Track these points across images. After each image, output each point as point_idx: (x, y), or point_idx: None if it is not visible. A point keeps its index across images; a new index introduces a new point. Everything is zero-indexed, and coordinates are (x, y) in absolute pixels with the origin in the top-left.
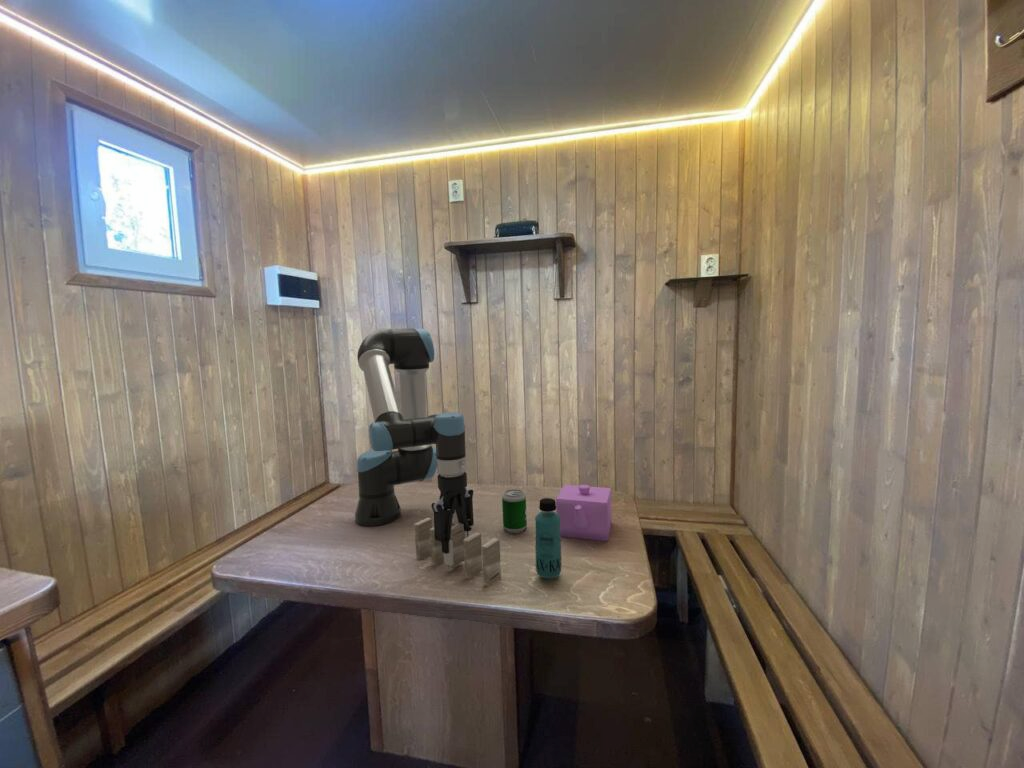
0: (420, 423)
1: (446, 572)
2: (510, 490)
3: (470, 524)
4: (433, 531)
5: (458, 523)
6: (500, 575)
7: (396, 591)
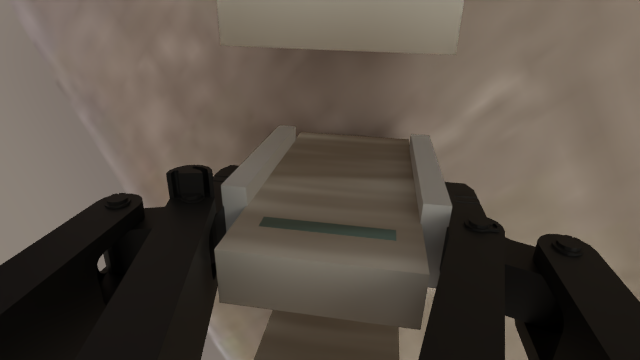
0: None
1: (293, 124)
2: None
3: (515, 320)
4: (225, 36)
5: (411, 275)
6: None
7: (48, 24)
